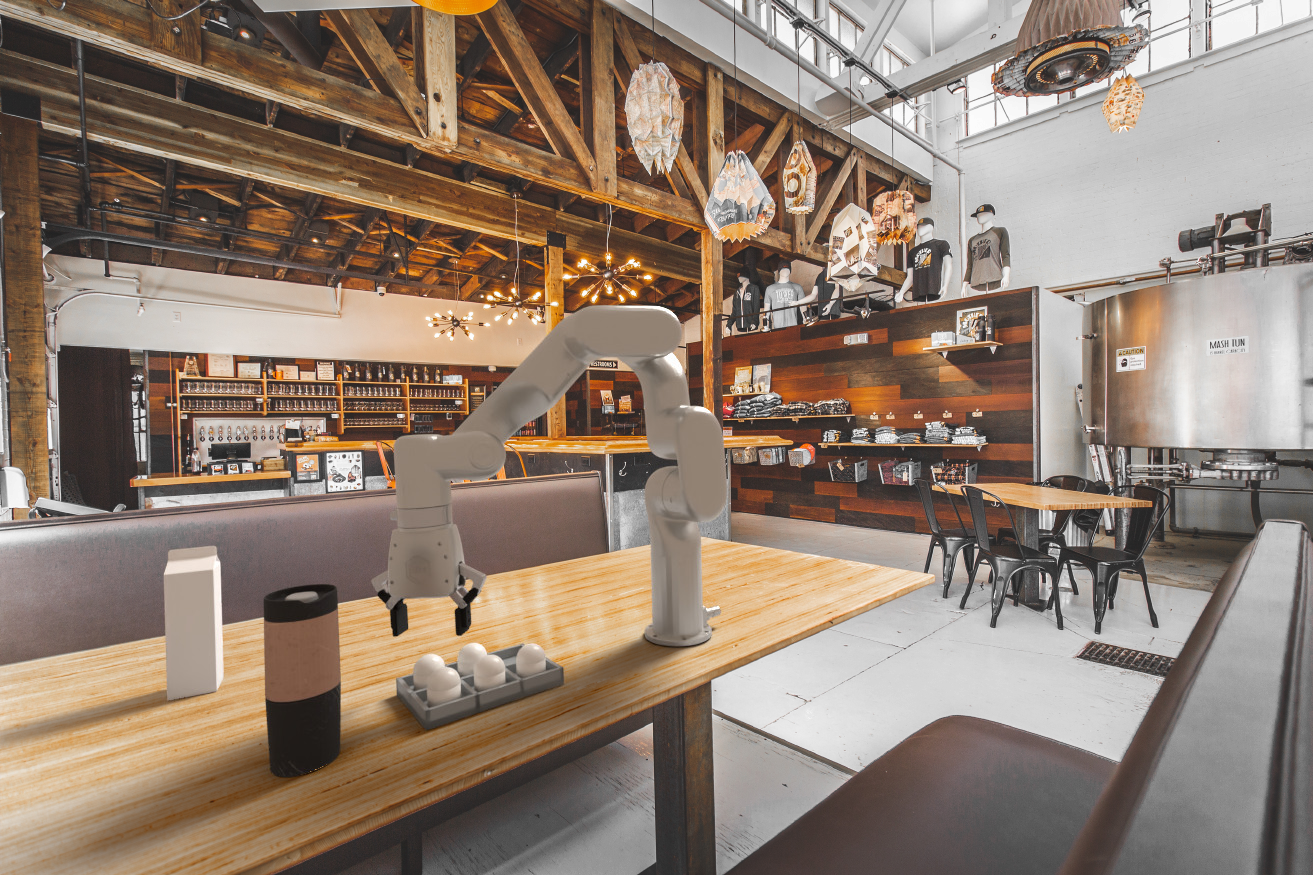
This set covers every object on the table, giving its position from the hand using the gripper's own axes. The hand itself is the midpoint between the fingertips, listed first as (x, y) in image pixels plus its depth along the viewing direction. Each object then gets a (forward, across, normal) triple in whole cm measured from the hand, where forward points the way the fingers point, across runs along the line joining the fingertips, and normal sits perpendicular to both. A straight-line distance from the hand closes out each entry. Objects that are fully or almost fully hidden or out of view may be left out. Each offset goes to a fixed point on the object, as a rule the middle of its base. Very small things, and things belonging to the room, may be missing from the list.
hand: (431, 632), depth 84 cm
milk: (+9, -39, 0) cm, 40 cm away
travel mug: (+9, -7, -17) cm, 21 cm away
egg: (+8, 0, 0) cm, 8 cm away
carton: (+9, +6, +2) cm, 11 cm away
